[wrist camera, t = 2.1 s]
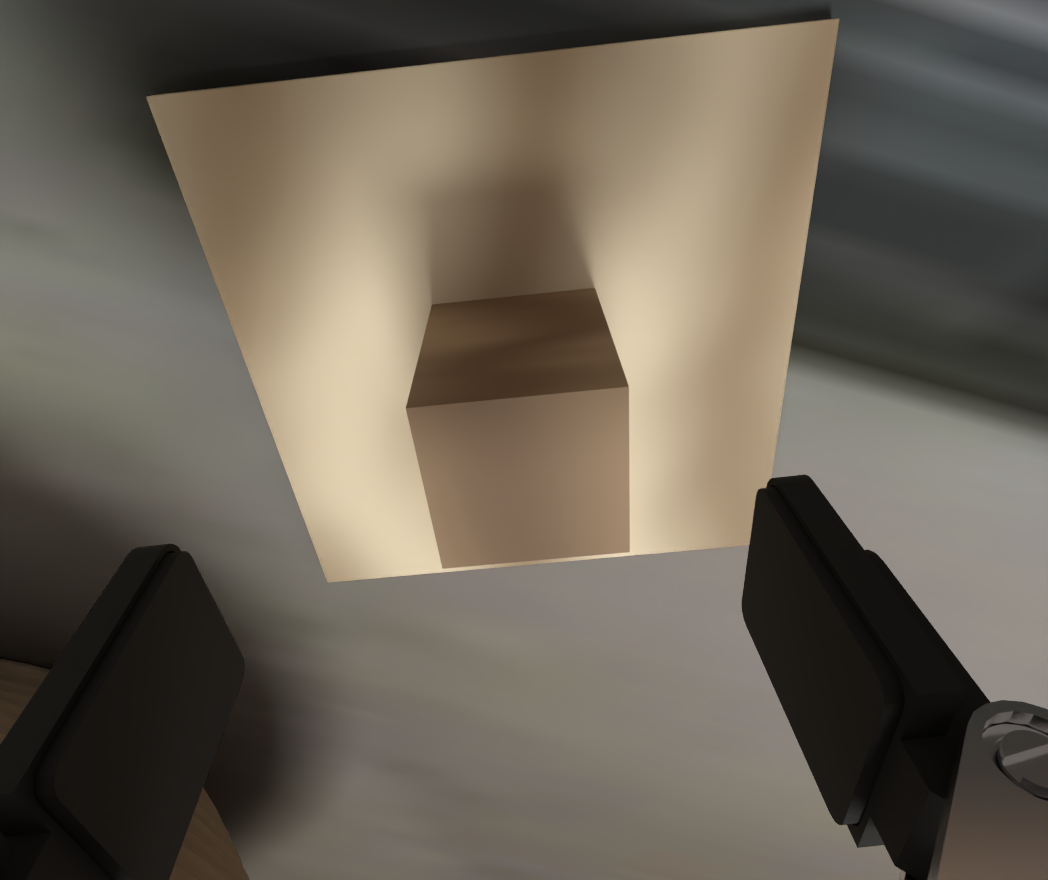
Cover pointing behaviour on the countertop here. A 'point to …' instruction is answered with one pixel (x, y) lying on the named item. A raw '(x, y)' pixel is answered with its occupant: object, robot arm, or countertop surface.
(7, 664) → the flower pot
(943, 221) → the countertop surface
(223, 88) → the lid
